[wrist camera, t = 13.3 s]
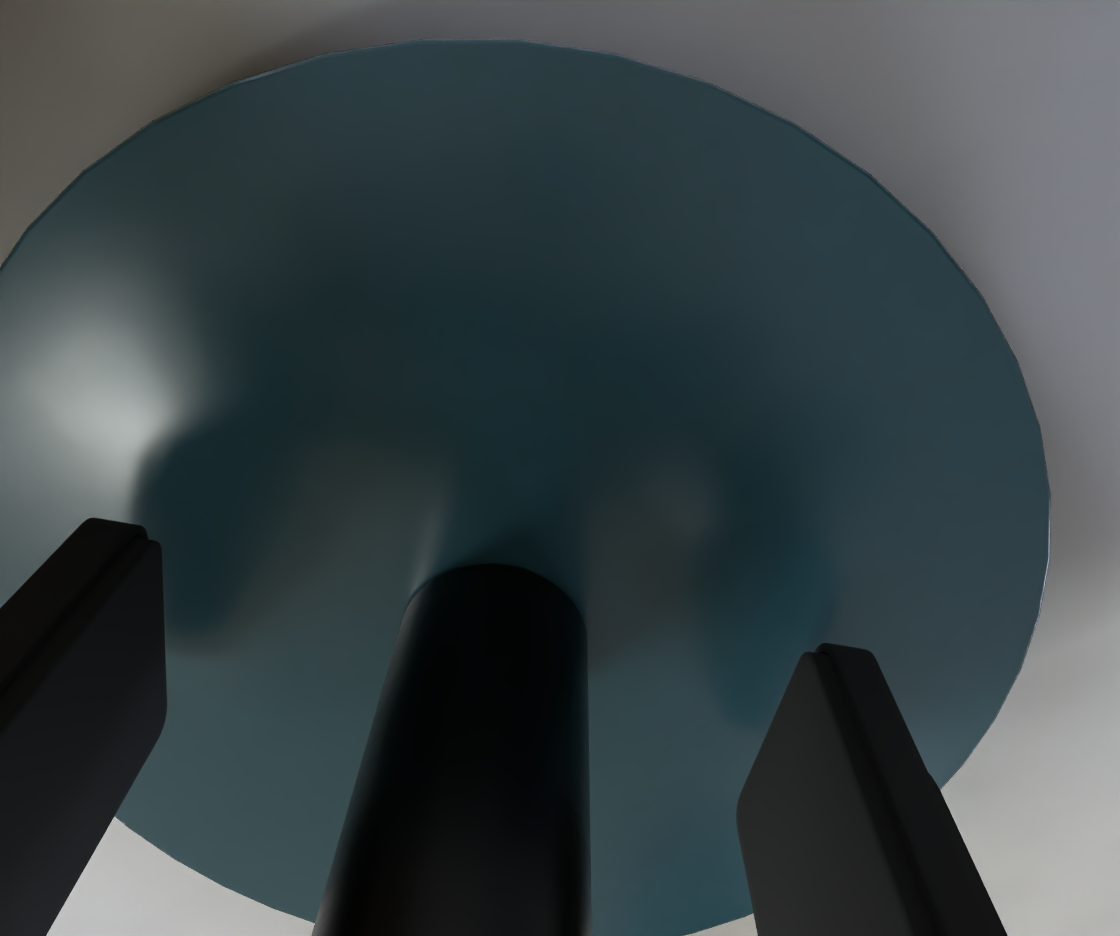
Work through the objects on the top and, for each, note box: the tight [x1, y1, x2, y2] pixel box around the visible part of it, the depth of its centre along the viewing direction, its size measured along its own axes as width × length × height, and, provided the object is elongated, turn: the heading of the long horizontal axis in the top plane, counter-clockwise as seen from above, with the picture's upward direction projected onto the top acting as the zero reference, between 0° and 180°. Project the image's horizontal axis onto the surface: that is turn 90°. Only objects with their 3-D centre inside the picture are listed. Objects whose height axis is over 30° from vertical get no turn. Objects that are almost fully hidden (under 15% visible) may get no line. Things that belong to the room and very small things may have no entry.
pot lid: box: [0, 39, 1051, 936], centre depth 9 cm, size 14×14×6 cm
